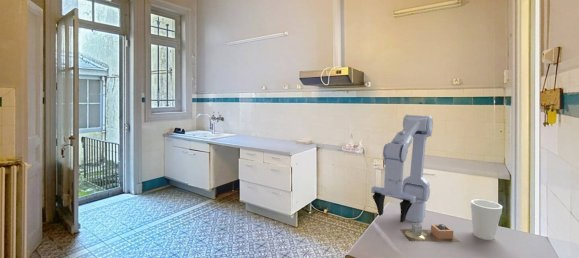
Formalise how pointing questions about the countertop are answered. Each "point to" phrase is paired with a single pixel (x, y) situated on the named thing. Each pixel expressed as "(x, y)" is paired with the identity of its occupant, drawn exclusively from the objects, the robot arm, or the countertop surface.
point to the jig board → (430, 237)
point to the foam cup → (485, 218)
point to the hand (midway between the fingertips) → (391, 217)
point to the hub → (416, 233)
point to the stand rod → (442, 227)
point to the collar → (442, 232)
